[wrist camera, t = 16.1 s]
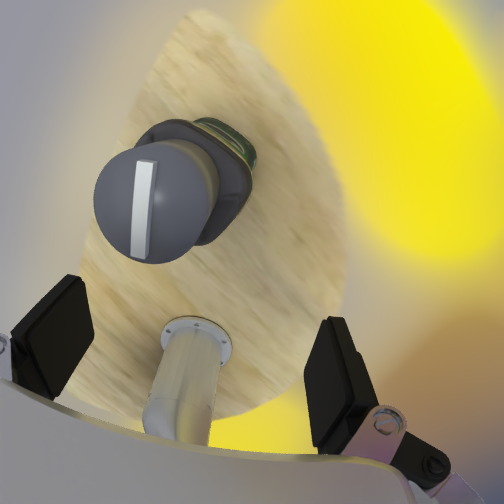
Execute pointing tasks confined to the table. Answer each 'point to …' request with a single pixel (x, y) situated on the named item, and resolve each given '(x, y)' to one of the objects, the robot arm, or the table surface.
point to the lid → (156, 199)
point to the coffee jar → (225, 159)
